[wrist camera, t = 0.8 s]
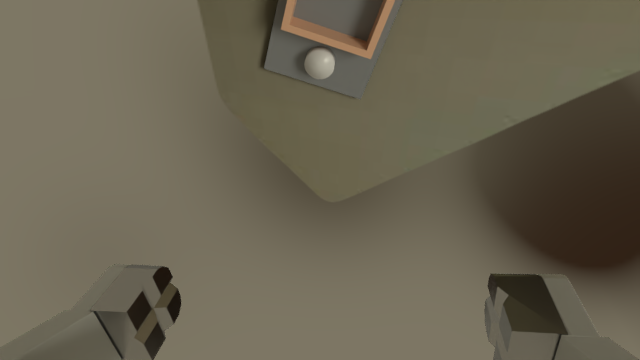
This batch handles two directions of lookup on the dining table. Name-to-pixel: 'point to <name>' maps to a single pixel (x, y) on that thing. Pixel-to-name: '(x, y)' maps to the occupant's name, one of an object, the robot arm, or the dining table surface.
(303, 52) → the housing
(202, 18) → the dining table surface
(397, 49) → the dining table surface
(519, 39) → the dining table surface
